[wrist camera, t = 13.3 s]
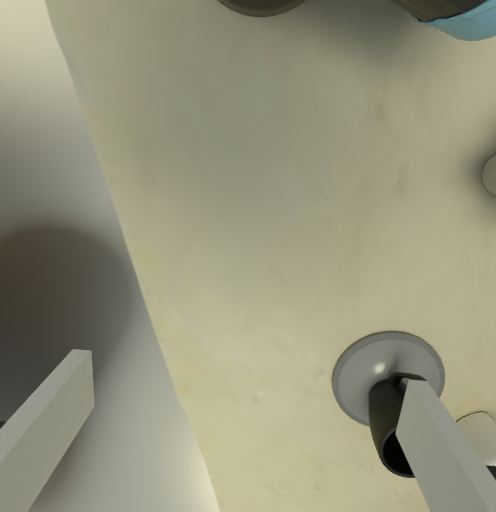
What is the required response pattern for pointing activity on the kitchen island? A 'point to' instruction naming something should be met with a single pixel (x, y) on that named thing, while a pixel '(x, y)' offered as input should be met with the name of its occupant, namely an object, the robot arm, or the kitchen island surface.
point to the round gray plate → (382, 368)
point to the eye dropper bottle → (480, 435)
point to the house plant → (490, 175)
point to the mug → (389, 421)
